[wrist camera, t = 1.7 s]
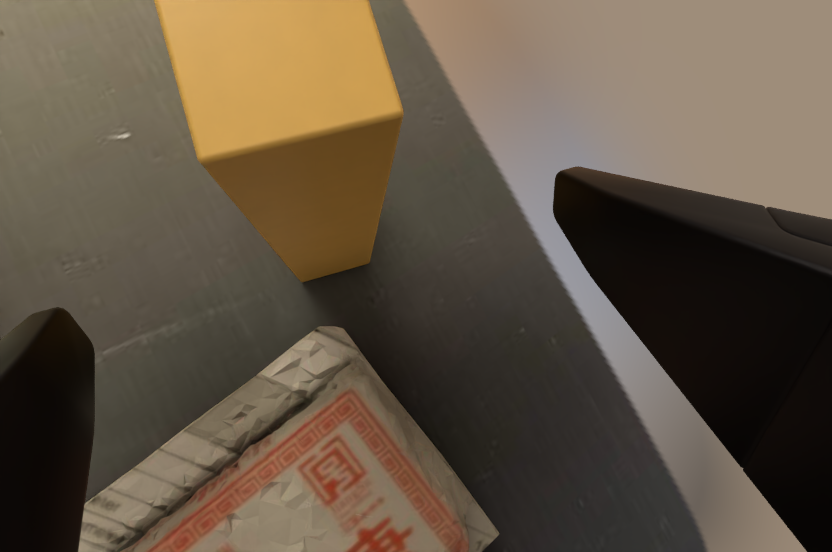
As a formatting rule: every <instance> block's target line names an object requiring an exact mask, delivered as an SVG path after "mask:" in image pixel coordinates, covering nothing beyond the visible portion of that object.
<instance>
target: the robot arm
mask: <svg viewBox="0 0 832 552" xmlns="http://www.w3.org/2000/svg"><path fill="white" fill-rule="evenodd" d="M553 213H554V217H555V219H556V221H557V223H558V224H559V226H560V228H561V229H562V230H563V233H564V234H565V236H566V238H567V239H568V241H569V242H570V244H571V246H572V247H573V249H574V251H575V252H576V254H577V255H578V257H579V259H580V260H581V262H582V264H583V265H584V267H585V268H586V270H587V271H588V273H589V274H590V276H591V277H592V279H593V280H594V281H595V283H596V284H597V285H598V287H599V288H600V289H601V290H602V292H603V293H604V294H605V295H606V296H607V298H608V299H609V301H610V302H611V303H612V304H613V306H614V307H615V308H616V309H617V311H618V312H619V313H620V315H621V316H622V317H623V318H624V319H625V321H626V322H627V323H628V325H629V326H630V327H631V328H632V330H633V331H634V332H635V334H636V335H637V336H638V337H639V339H640V340H641V341H642V342H643V344H644V345H645V346H646V347H647V349H648V350H649V351H650V353H651V354H652V355H653V356H654V358H655V359H656V360H657V361H658V363H659V364H660V365H661V366H662V368H663V369H664V370H665V372H666V373H667V374H668V375H669V377H670V378H671V379H672V380H673V382H674V383H675V384H676V386H677V387H678V388H679V389H680V391H681V392H682V393H683V394H684V396H685V397H686V398H687V399H688V401H689V402H690V403H691V405H692V406H693V407H694V408H695V410H696V411H697V412H698V413H699V415H700V416H701V417H702V418H703V420H704V421H705V422H706V423H707V425H708V426H709V427H710V429H711V430H712V431H713V432H714V434H715V435H716V436H717V437H718V439H719V440H720V441H721V442H722V444H723V445H724V446H725V448H726V449H727V450H728V451H729V453H730V454H731V455H732V456H733V458H734V459H735V460H736V462H737V463H738V464H739V465H740V467H742V468H743V471H744V472H745V473H746V475H747V476H748V477H749V478H750V480H751V481H752V482H753V484H754V485H755V486H756V487H757V489H758V490H759V491H760V492H761V494H762V495H763V496H764V498H765V499H766V500H767V501H768V503H769V504H770V505H771V506H772V508H773V509H774V510H775V511H776V513H777V514H778V515H779V517H780V518H781V519H782V520H783V522H784V523H785V524H786V525H787V527H788V528H789V529H790V530H791V532H792V533H793V534H794V535H795V537H796V538H797V539H798V541H799V542H800V543H801V544H802V546H803V547H804V548H805V549H806V551H807V552H832V219H826V218H821V217H816V216H811V215H806V214H801V213H796V212H791V211H786V210H782V209H777V208H772V207H767V208H765V207H764V206H762V205H757V204H753V203H748V202H743V201H739V200H734V199H729V198H725V197H720V196H715V195H710V194H706V193H700V192H696V191H692V190H687V189H682V188H677V187H673V186H668V185H663V184H659V183H654V182H649V181H644V180H640V179H635V178H630V177H626V176H621V175H616V174H611V173H606V172H602V171H597V170H592V169H588V168H583V167H573V168H569V169H566V170H562V171H560V172H559V173H558V174H557V175H556V178H555V187H554V201H553ZM94 421H95V353H94V348H93V345H92V343H91V341H90V339H89V338H88V337H87V335H86V334H85V333H84V331H83V330H82V329H81V328H80V326H79V325H78V324H77V323H76V321H75V320H74V319H73V317H72V316H71V315H70V314H69V313H68V312H67V311H66V310H65V309H63V308H59V307H56V308H52V309H48V310H44V311H41V312H37V313H34V314H32V315H30V316H29V317H28V318H27V319H26V320H24V321H23V322H22V323H21V324H19V325H18V326H17V327H16V328H15V329H13V330H12V331H11V332H10V333H9V334H7V335H6V336H5V337H4V338H3V339H1V340H0V552H78V550H79V542H80V535H81V527H82V520H83V513H84V505H85V498H86V490H87V483H88V475H89V468H90V460H91V453H92V446H93V436H94Z"/></svg>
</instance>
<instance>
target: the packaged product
mask: <svg viewBox="0 0 832 552" xmlns="http://www.w3.org/2000/svg"><path fill="white" fill-rule="evenodd" d="M498 535H499V532H498V530H497V529H496V528H495V526H494V525H493V524H492V522H491V521H490V520H489V518H488V517H487V516H486V514H485V513H484V511H483V510H482V509H481V507H480V506H479V505H478V503H477V502H476V501H475V499H474V498H473V497H472V495H471V494H470V492H469V491H468V490H467V488H466V487H465V486H464V484H463V483H462V482H461V480H460V479H459V478H458V476H457V475H456V473H455V472H454V471H453V469H452V468H451V467H450V465H449V464H448V463H447V461H446V460H445V459H444V457H443V456H442V455H441V453H440V452H439V451H438V450H437V448H436V447H435V446H434V445H433V443H432V442H431V441H430V440H429V438H428V437H427V436H426V435H425V433H424V432H423V431H422V430H421V428H420V427H419V426H418V425H417V423H416V422H415V421H414V420H413V419H412V417H411V416H410V415H409V414H408V412H407V411H406V410H405V409H404V407H403V406H402V405H401V404H400V402H399V401H398V400H397V399H396V397H395V396H394V395H393V394H392V393H391V391H390V390H389V389H388V388H387V386H386V385H385V384H384V383H383V381H382V380H381V379H380V377H379V376H378V375H377V373H376V372H375V370H374V369H373V368H372V366H371V365H370V364H369V362H368V361H367V360H366V358H365V357H364V356H363V354H362V353H361V351H360V350H359V349H358V347H357V346H356V345H355V343H354V342H353V341H352V339H351V338H350V337H349V335H348V334H347V332H346V331H345V330H344V329H343V328H339V327H335V326H321V327H318V328H317V329H316V330H314V331H313V332H311V333H310V334H308V335H307V336H306V337H304V338H303V339H301V340H300V341H299V342H297V343H296V344H295V345H294V346H292V347H291V348H290V349H289V350H287V351H286V352H285V353H284V354H282V355H281V356H280V357H279V358H277V359H276V360H275V361H274V362H272V363H271V364H270V365H269V366H267V367H266V368H265V369H264V370H262V371H261V372H260V373H259V374H257V375H256V376H255V377H254V378H252V379H251V380H250V381H248V382H247V383H246V384H244V385H243V386H241V387H240V388H239V389H237V390H236V391H235V392H233V393H232V394H231V395H229V396H228V397H227V398H225V399H224V400H222V401H221V402H220V403H218V404H217V405H216V406H214V407H213V408H212V409H210V410H209V411H208V412H206V413H205V414H203V415H202V416H201V417H199V418H198V419H197V420H195V421H194V422H193V423H191V424H190V425H189V426H187V427H186V428H184V429H183V430H182V431H181V432H179V433H178V434H177V435H175V436H174V437H173V438H172V439H170V440H169V441H168V442H167V443H165V444H164V445H163V446H161V447H160V448H159V449H158V450H156V451H155V452H154V453H153V454H151V455H150V456H149V457H147V458H146V459H145V460H144V461H142V462H141V463H140V464H138V465H137V466H136V467H134V468H133V469H131V470H130V471H129V472H127V473H126V474H125V475H123V476H122V477H121V478H119V479H118V480H116V481H115V482H114V483H112V484H111V485H110V486H108V487H107V488H106V489H104V490H103V491H101V492H100V493H99V494H97V495H96V496H95V497H93V498H92V499H90V500H89V501H88V502H86V503H85V505H84V513H83V520H82V527H81V535H80V542H79V550H78V552H482V551H483V550H484V549H485V548H486V547H487V546H488V545H489V544H490V543H491V542H492V541H493V540H494V539H495V538H496V537H497V536H498Z"/></svg>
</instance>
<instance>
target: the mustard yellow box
mask: <svg viewBox="0 0 832 552" xmlns="http://www.w3.org/2000/svg"><path fill="white" fill-rule="evenodd" d="M154 2H155V5H156V9H157V13H158V16H159V20H160V24H161V27H162V31H163V35H164V38H165V42H166V46H167V49H168V53H169V56H170V60H171V64H172V67H173V71H174V75H175V78H176V82H177V86H178V89H179V93H180V97H181V100H182V104H183V108H184V111H185V115H186V119H187V122H188V126H189V130H190V133H191V137H192V140H193V144H194V148H195V151H196V155H197V159H198V160H199V162H200V163H201V164H202V165H203V166H204V168H205V169H206V170H207V171H208V172H209V174H210V175H211V176H212V177H213V178H214V179H215V181H216V182H217V183H218V184H219V185H220V187H221V188H222V189H223V190H224V191H225V193H226V194H227V195H228V196H229V197H230V198H231V200H232V201H233V202H234V203H235V204H236V206H237V207H238V208H239V209H240V210H241V212H242V213H243V214H244V215H245V216H246V217H247V219H248V220H249V221H250V222H251V223H252V225H253V226H254V227H255V228H256V229H257V231H258V232H259V233H260V234H261V235H262V236H263V238H264V239H265V240H266V241H267V242H268V244H269V245H270V246H271V247H272V248H273V250H274V251H275V252H276V253H277V254H278V255H279V257H280V258H281V259H282V260H283V261H284V263H285V264H286V265H287V266H288V267H289V269H290V270H291V271H292V272H293V273H294V274H295V276H296V277H297V278H298V279H299V280H300V282H305V281H309V280H312V279H316V278H320V277H323V276H327V275H330V274H334V273H337V272H341V271H344V270H348V269H351V268H355V267H358V266H362V265H365V264H368V263H370V258H371V254H372V250H373V245H374V241H375V236H376V232H377V228H378V223H379V219H380V215H381V210H382V206H383V202H384V197H385V193H386V188H387V184H388V180H389V175H390V171H391V167H392V162H393V158H394V154H395V149H396V145H397V141H398V136H399V132H400V127H401V123H402V119H403V112H404V110H403V107H402V104H401V101H400V98H399V95H398V92H397V88H396V85H395V82H394V79H393V76H392V73H391V69H390V66H389V63H388V60H387V57H386V54H385V50H384V47H383V44H382V41H381V38H380V35H379V31H378V28H377V25H376V22H375V19H374V16H373V13H372V9H371V6H370V3H369V0H154Z"/></svg>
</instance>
